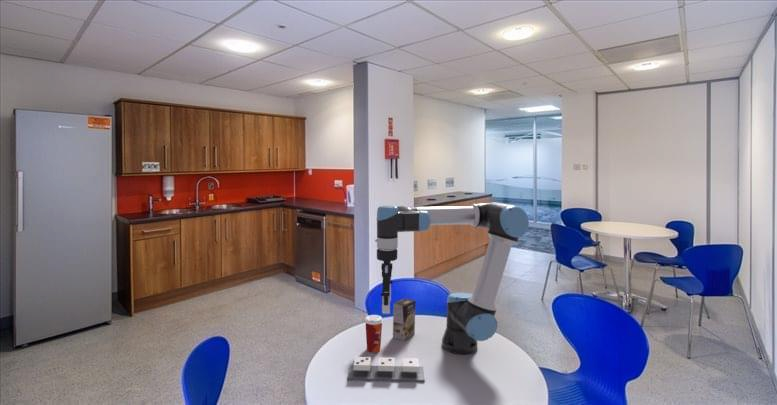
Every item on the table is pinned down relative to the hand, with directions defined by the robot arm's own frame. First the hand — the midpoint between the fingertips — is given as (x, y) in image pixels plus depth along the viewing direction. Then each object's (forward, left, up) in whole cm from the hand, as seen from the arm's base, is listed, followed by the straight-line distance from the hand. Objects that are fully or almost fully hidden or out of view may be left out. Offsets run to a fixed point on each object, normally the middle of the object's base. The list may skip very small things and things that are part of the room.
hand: (386, 306), depth 142 cm
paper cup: (+6, -19, -26) cm, 33 cm away
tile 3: (+9, 0, -23) cm, 25 cm away
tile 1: (-9, 0, -23) cm, 25 cm away
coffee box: (-7, -33, -26) cm, 43 cm away
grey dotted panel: (0, 0, -26) cm, 26 cm away
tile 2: (0, 0, -23) cm, 23 cm away
